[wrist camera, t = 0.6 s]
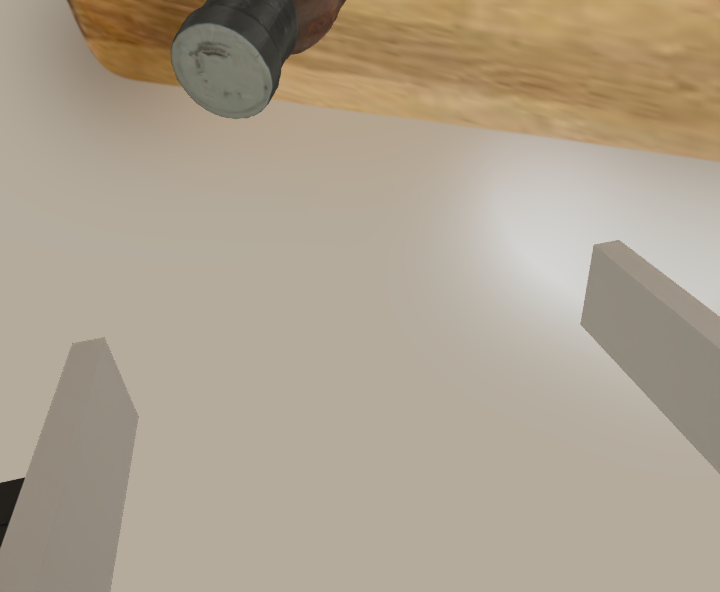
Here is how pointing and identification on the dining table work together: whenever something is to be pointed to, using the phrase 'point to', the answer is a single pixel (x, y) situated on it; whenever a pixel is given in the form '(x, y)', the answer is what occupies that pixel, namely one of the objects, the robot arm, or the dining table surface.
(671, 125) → the dining table surface
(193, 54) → the sauce bottle
